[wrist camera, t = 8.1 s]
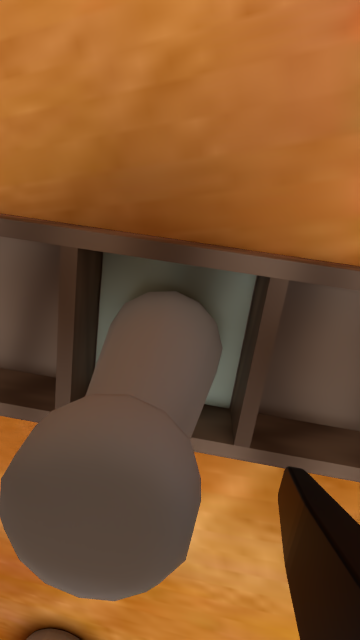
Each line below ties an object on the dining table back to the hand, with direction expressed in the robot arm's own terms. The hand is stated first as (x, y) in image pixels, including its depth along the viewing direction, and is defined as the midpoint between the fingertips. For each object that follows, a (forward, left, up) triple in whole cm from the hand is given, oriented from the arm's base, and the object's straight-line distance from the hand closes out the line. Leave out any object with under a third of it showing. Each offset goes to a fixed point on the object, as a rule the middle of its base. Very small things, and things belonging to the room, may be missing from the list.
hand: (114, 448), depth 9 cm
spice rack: (0, 0, -12) cm, 12 cm away
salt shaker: (0, 0, -11) cm, 11 cm away
